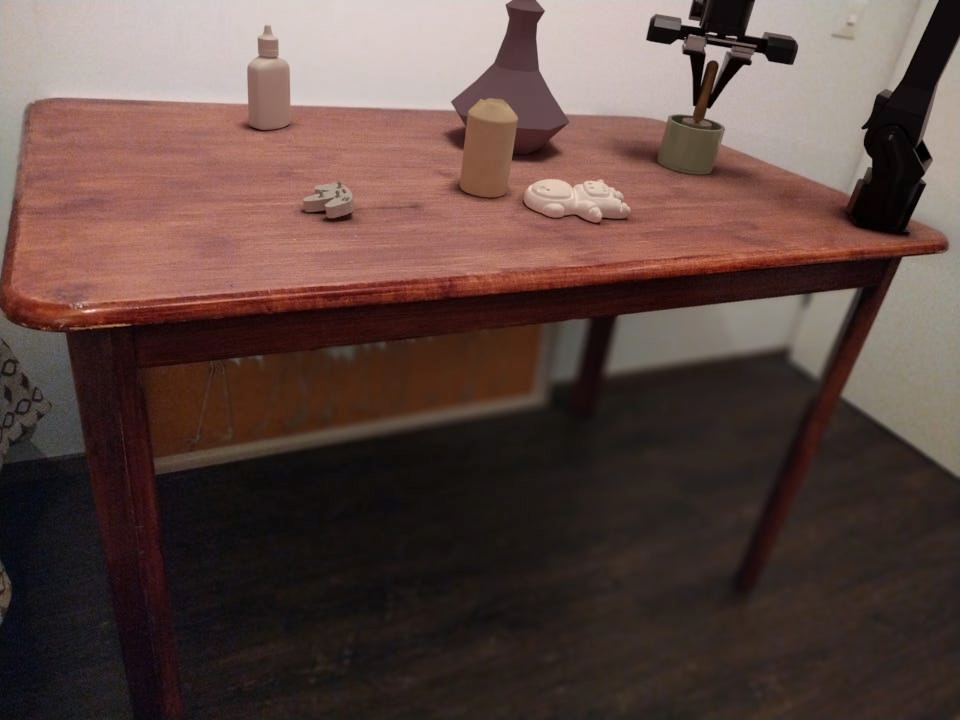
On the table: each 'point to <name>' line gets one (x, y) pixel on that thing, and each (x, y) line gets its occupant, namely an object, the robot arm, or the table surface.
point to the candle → (488, 148)
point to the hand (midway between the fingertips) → (701, 106)
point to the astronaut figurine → (576, 200)
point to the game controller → (331, 200)
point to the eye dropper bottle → (268, 85)
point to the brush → (703, 98)
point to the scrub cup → (690, 146)
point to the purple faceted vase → (518, 81)
